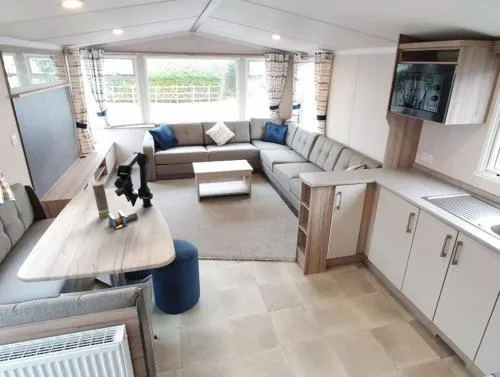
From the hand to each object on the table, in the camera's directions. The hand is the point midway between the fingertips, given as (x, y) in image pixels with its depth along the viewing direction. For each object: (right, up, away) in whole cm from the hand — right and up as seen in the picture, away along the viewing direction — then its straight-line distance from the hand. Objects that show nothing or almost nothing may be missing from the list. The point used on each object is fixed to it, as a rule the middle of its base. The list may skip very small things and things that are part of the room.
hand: (131, 204), depth 210 cm
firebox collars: (-8, -13, -1) cm, 16 cm away
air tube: (-5, -12, +1) cm, 13 cm away
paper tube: (-22, -9, +10) cm, 26 cm away
